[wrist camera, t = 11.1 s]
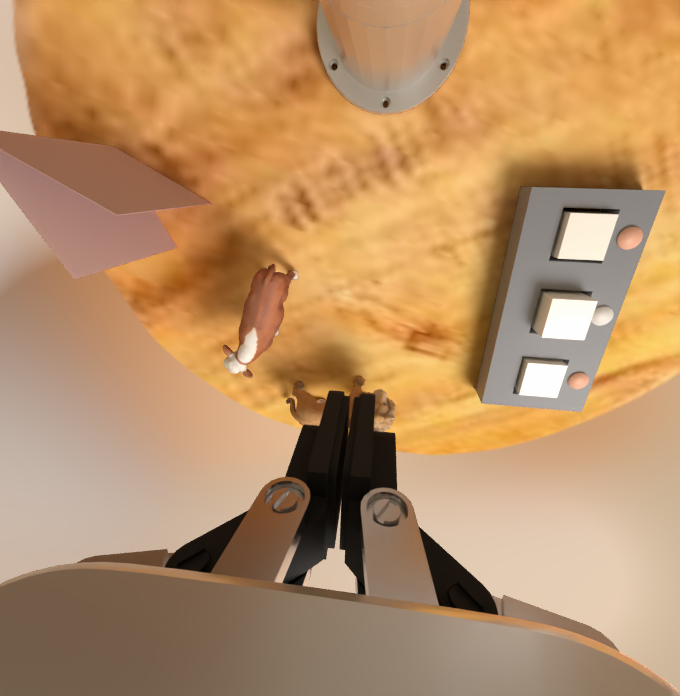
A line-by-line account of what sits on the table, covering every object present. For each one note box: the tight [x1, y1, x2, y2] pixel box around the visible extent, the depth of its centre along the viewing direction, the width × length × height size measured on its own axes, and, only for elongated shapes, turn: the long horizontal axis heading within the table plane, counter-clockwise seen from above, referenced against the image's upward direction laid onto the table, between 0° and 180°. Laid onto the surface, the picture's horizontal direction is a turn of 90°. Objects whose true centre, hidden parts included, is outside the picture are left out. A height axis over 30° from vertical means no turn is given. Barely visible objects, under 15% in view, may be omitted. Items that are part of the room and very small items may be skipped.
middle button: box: [531, 289, 598, 340], centre depth 36 cm, size 4×4×4 cm
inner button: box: [551, 211, 619, 261], centre depth 34 cm, size 4×4×4 cm
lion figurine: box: [286, 376, 395, 432], centre depth 42 cm, size 15×5×9 cm, turn 107°
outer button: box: [515, 356, 568, 398], centre depth 40 cm, size 4×4×4 cm
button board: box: [476, 187, 665, 412], centre depth 37 cm, size 23×11×3 cm, turn 178°
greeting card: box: [0, 131, 212, 279], centre depth 31 cm, size 11×7×15 cm, turn 26°
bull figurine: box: [223, 264, 298, 378], centre depth 39 cm, size 4×13×8 cm, turn 154°
